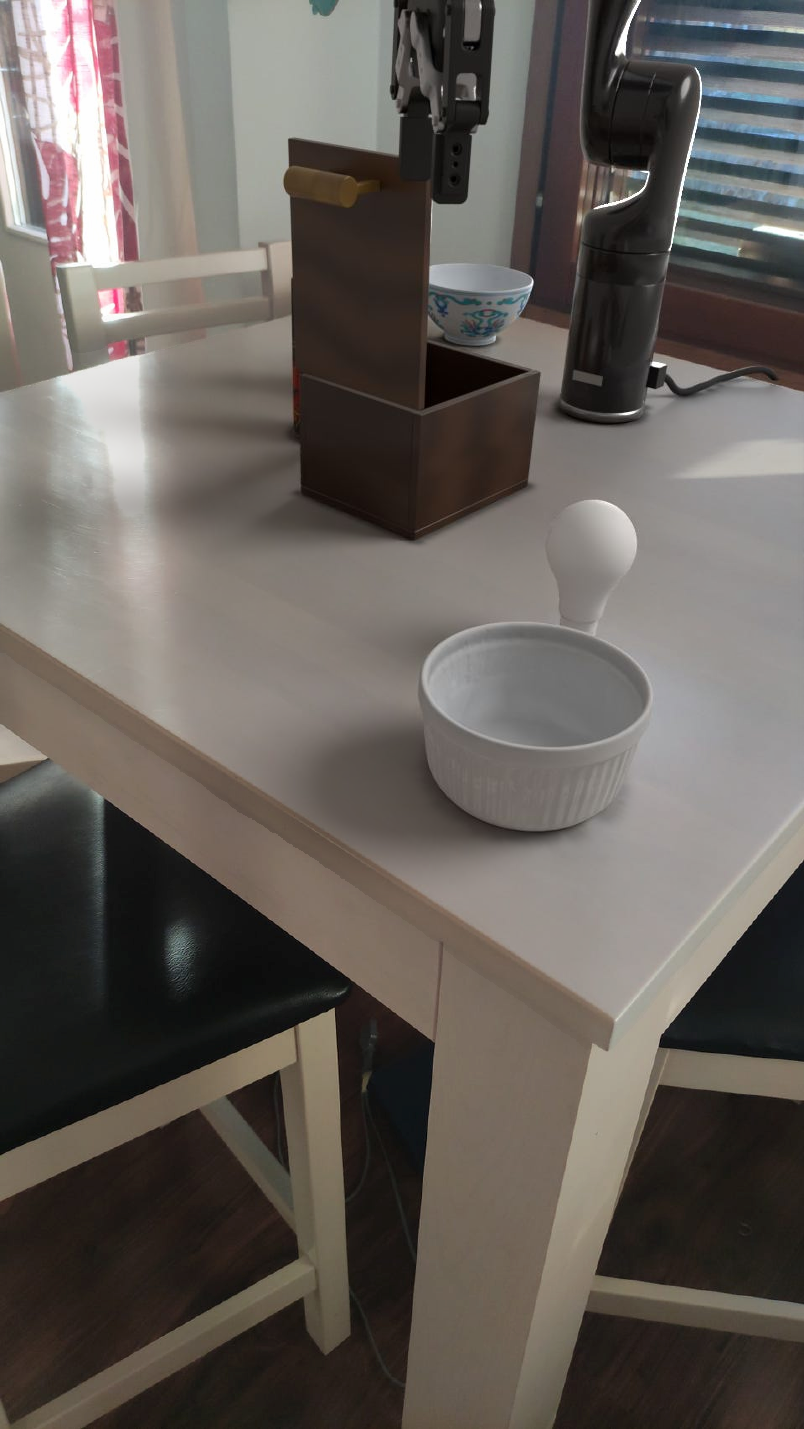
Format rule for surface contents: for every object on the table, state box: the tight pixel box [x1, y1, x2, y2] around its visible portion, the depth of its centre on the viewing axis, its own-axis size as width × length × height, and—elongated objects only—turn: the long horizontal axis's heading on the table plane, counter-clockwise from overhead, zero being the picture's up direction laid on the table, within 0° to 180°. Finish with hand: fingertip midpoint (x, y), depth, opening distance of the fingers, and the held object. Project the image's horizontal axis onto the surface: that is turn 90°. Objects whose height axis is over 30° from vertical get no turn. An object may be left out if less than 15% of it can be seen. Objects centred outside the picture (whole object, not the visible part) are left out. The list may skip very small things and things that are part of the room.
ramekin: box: [417, 620, 654, 832], centre depth 61 cm, size 13×13×7 cm
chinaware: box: [428, 262, 534, 347], centre depth 137 cm, size 15×15×8 cm
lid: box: [282, 137, 433, 411], centre depth 79 cm, size 17×14×5 cm
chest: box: [299, 338, 542, 541], centre depth 95 cm, size 17×14×11 cm
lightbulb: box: [545, 499, 638, 636], centre depth 73 cm, size 6×6×11 cm
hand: (430, 191), depth 67 cm, fingers open, 8 cm apart
